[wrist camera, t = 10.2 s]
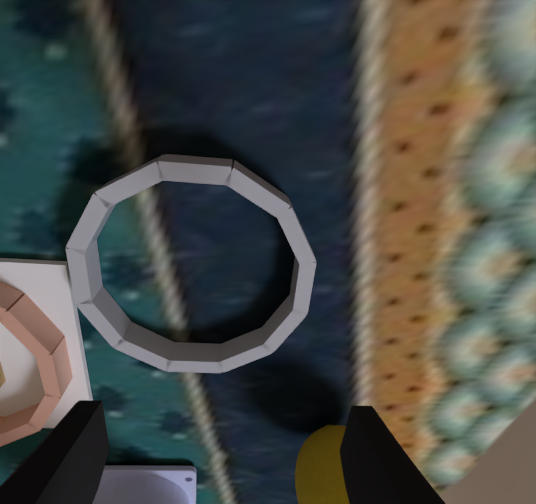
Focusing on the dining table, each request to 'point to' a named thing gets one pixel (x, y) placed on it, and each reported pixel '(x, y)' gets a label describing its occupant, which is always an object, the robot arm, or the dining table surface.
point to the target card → (21, 359)
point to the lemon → (321, 468)
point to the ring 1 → (47, 355)
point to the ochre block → (1, 376)
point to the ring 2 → (149, 343)
